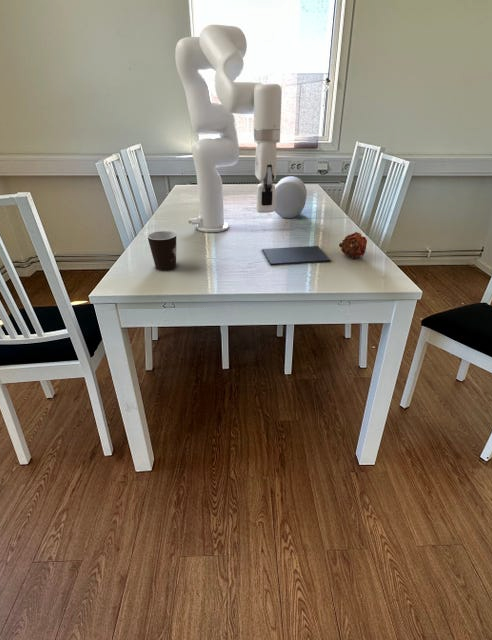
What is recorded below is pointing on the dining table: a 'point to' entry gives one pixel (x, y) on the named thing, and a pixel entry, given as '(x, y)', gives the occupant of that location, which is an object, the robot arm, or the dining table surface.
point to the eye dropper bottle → (259, 206)
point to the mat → (295, 255)
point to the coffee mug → (163, 249)
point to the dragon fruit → (354, 245)
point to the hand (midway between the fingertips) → (265, 202)
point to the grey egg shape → (290, 197)
